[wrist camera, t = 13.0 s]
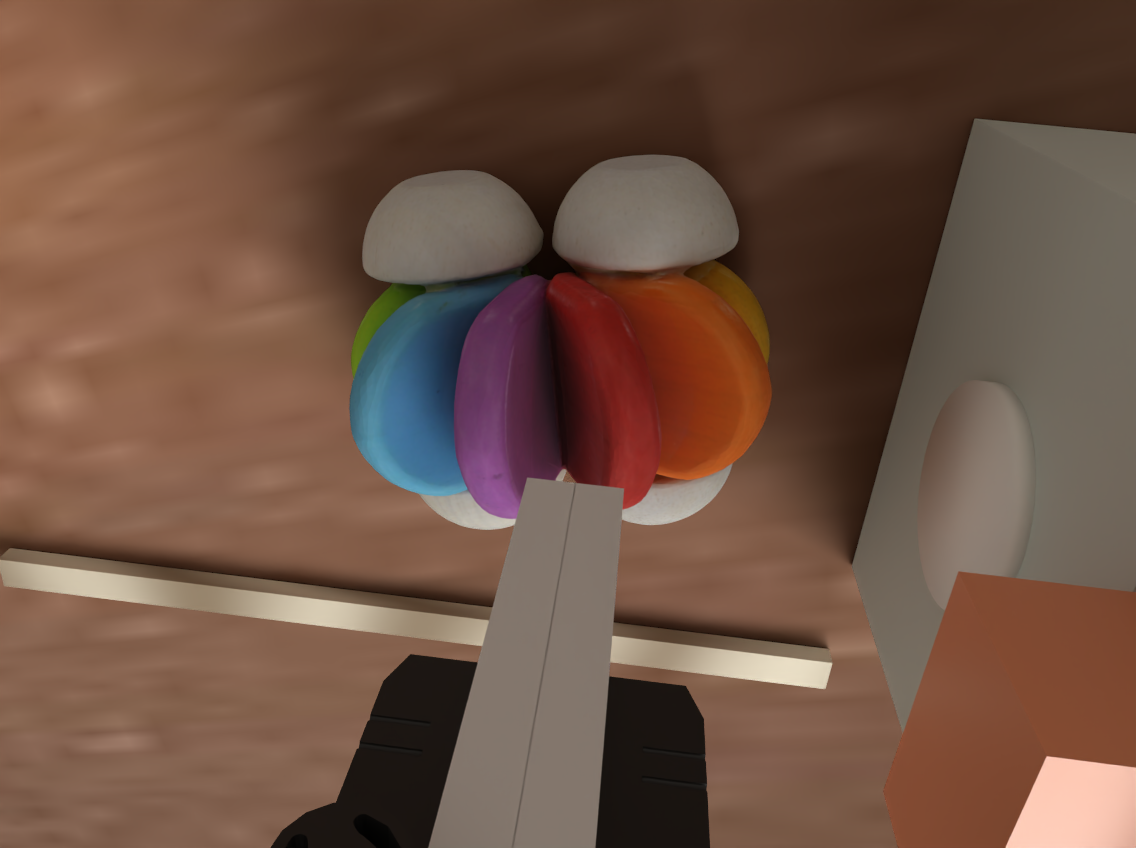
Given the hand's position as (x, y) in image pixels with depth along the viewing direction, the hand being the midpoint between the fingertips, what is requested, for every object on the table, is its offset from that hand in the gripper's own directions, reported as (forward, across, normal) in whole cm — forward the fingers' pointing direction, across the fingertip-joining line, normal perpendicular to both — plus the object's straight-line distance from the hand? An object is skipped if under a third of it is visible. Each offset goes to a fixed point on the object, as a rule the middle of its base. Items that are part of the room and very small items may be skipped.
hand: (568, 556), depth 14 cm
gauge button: (-2, +7, 0) cm, 7 cm away
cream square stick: (+10, -5, -10) cm, 14 cm away
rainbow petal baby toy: (+10, -1, 0) cm, 10 cm away
